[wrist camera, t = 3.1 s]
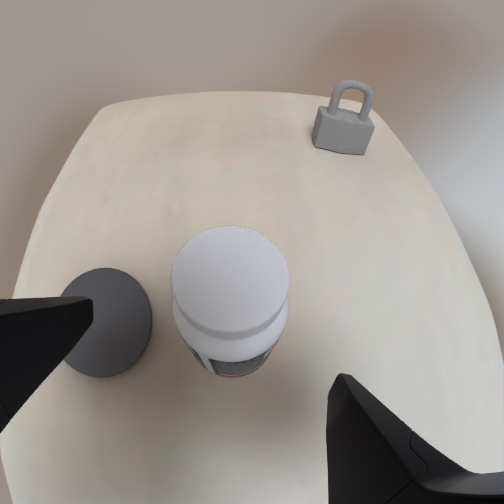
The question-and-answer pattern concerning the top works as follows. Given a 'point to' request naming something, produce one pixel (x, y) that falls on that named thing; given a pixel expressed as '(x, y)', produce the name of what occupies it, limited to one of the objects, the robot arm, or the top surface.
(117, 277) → the coaster
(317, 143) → the padlock
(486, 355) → the top surface
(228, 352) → the pill bottle
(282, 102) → the top surface
